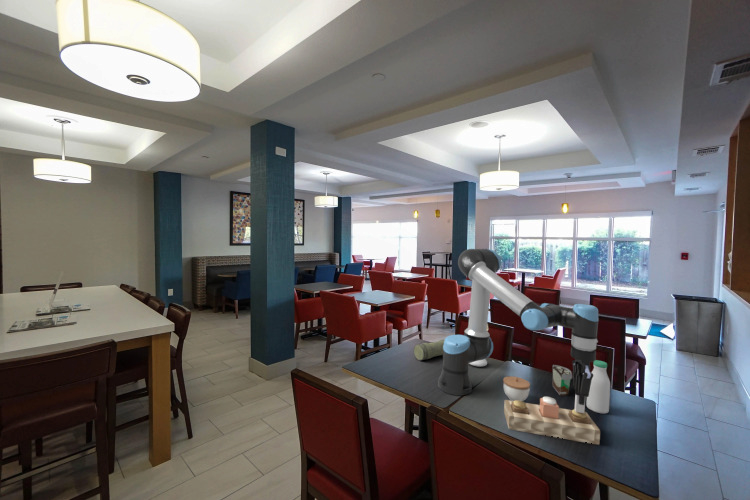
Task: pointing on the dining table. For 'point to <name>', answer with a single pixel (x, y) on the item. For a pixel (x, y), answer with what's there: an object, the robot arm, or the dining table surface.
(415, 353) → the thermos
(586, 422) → the right button
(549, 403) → the middle button
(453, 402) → the dining table surface
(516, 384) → the lidded jar
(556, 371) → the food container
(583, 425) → the button mount
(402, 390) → the dining table surface
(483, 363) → the flower in vase
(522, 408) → the left button
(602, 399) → the milk bottle
